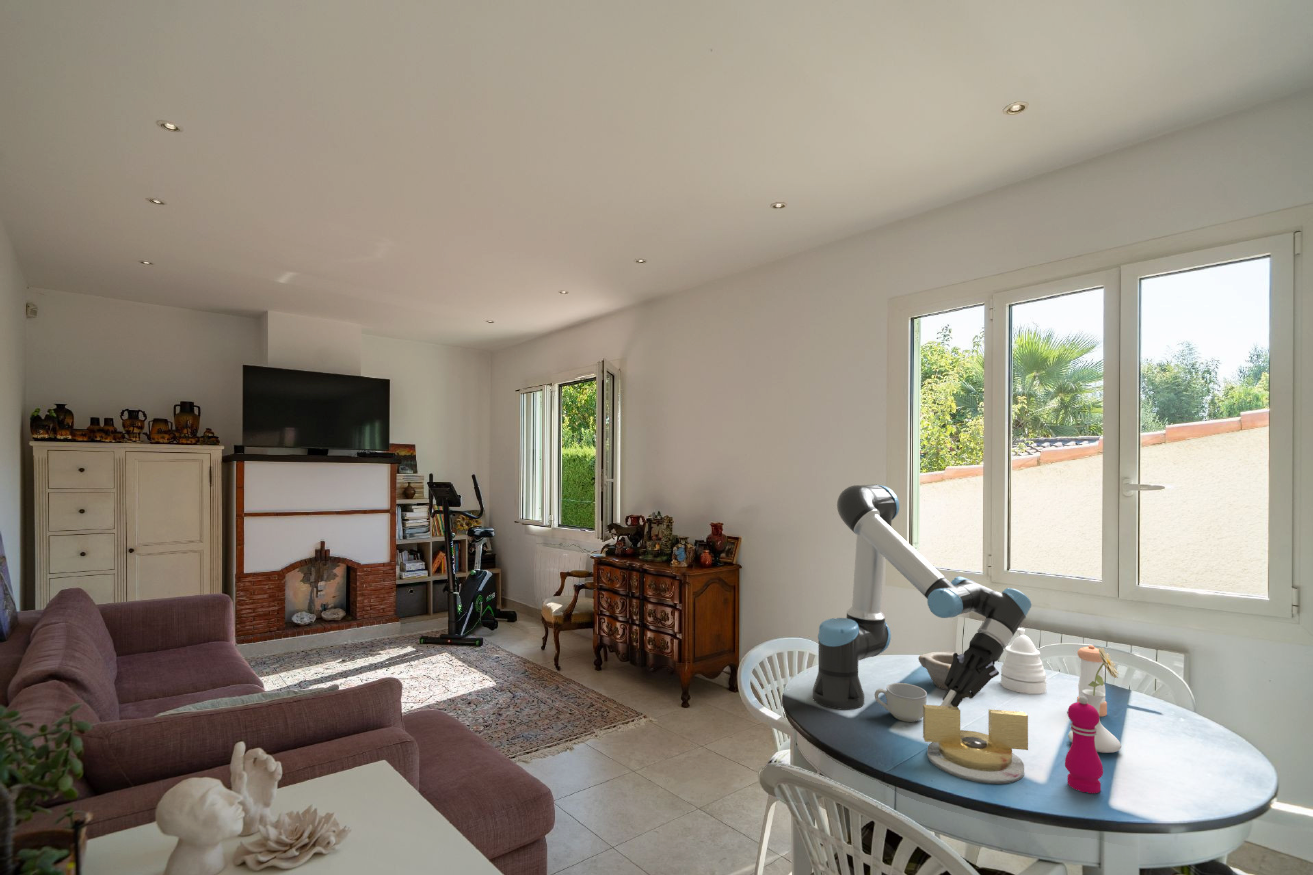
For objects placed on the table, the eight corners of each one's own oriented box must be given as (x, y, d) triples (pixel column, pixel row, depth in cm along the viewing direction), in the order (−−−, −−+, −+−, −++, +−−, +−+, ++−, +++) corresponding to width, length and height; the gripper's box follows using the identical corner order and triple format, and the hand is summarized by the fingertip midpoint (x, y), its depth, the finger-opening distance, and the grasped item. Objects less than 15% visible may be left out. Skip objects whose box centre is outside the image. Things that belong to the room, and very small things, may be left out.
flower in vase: (1104, 760, 163) (1104, 657, 164) (1058, 743, 173) (1057, 645, 174) (1134, 750, 169) (1134, 650, 170) (1088, 734, 179) (1087, 639, 180)
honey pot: (995, 679, 224) (995, 624, 224) (1036, 681, 222) (1036, 626, 223) (1009, 692, 211) (1009, 634, 212) (1053, 695, 209) (1053, 636, 210)
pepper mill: (1057, 779, 153) (1057, 690, 154) (1087, 778, 154) (1086, 690, 155) (1080, 795, 146) (1079, 702, 147) (1111, 794, 147) (1110, 701, 148)
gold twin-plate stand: (986, 778, 149) (986, 730, 150) (918, 749, 164) (918, 705, 164) (1031, 759, 159) (1031, 714, 160) (963, 733, 174) (963, 692, 174)
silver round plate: (926, 772, 156) (926, 765, 156) (928, 738, 175) (928, 731, 175) (1029, 791, 148) (1029, 783, 148) (1019, 753, 167) (1019, 746, 167)
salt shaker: (1106, 718, 190) (1105, 650, 191) (1075, 712, 195) (1075, 645, 195) (1107, 711, 196) (1107, 644, 197) (1078, 705, 201) (1078, 640, 201)
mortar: (993, 692, 211) (993, 662, 211) (953, 699, 205) (953, 668, 205) (950, 676, 227) (950, 648, 227) (912, 681, 220) (912, 653, 220)
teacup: (925, 713, 193) (925, 685, 193) (928, 727, 182) (928, 697, 183) (874, 707, 197) (874, 679, 197) (874, 720, 187) (874, 691, 187)
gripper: (1019, 656, 170) (971, 733, 163) (977, 643, 182) (930, 714, 175) (1004, 637, 168) (955, 714, 161) (962, 625, 180) (914, 696, 173)
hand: (942, 714), depth 168 cm, fingers closed
